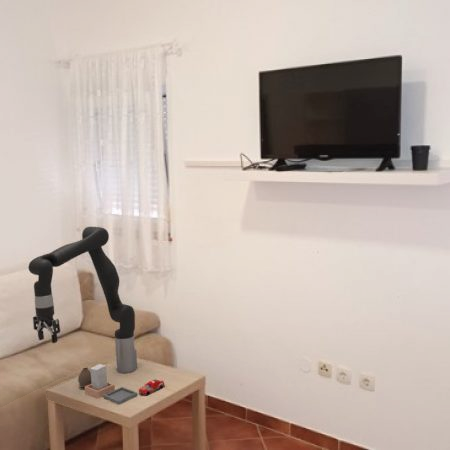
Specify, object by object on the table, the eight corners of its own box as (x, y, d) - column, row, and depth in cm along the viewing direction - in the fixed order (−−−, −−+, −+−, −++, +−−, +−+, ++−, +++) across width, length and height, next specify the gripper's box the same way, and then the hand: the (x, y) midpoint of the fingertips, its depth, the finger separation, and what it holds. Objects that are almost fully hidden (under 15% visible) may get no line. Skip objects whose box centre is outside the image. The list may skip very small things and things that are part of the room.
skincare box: (101, 388, 260) (99, 363, 258) (108, 390, 258) (106, 365, 256) (91, 393, 255) (89, 368, 253) (98, 395, 252) (96, 369, 251)
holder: (101, 385, 263) (101, 379, 262) (114, 390, 257) (114, 384, 256) (85, 392, 256) (84, 386, 255) (98, 398, 250) (97, 391, 249)
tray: (122, 389, 257) (121, 386, 257) (137, 395, 251) (137, 392, 250) (103, 398, 249) (103, 395, 249) (119, 404, 243) (118, 401, 243)
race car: (144, 397, 249) (143, 389, 249) (136, 394, 253) (135, 385, 252) (166, 387, 259) (166, 379, 258) (158, 384, 263) (158, 376, 262)
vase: (90, 390, 258) (88, 371, 257) (76, 389, 260) (74, 371, 259) (96, 383, 265) (95, 365, 264) (82, 383, 267) (81, 365, 265)
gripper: (62, 304, 241) (66, 340, 243) (40, 300, 248) (43, 335, 251) (48, 309, 234) (52, 346, 237) (26, 305, 242) (30, 341, 245)
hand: (47, 341), depth 244 cm, fingers open, 8 cm apart
